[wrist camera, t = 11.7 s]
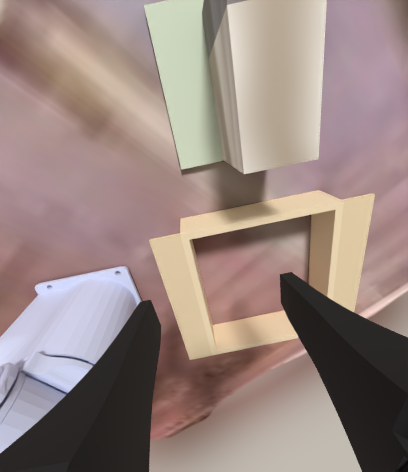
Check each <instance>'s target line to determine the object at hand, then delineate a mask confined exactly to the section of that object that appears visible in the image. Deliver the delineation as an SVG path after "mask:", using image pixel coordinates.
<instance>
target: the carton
mask: <svg viewBox="0 0 408 472" xmlns="http://www.w3.org/2000/svg"><path fill="white" fill-rule="evenodd" d="M374 198H375V194H367V195H362V196H357V197H352V198H347V199H343V200H341V199H338V198H336V197H334V196H331V195H329V194H327V193H324V192H322V191H320V190H317V191H312V192H307V193H302V194H298V195H293V196H288V197H283V198H278V199H273V200H269V201H264V202H259V203H254V204H249V205H245V206H240V207H235V208H230V209H225V210H220V211H216V212H211V213H206V214H201V215H196V216H192V217H187V218H182V219H181V224H180V233H179V234H174V235H169V236H164V237H159V238H154V239H150V240H149V242H150V245H151V248H152V251H153V253H154V256H155V259H156V262H157V265H158V268H159V271H160V274H161V277H162V280H163V283H164V286H165V288H166V291H167V294H168V297H169V300H170V303H171V306H172V309H173V312H174V315H175V318H176V320H177V323H178V326H179V329H180V332H181V335H182V338H183V341H184V344H185V347H186V350H187V352H188V355H189V358H190V360H192V359H197V358H202V357H207V356H212V355H217V354H222V353H227V352H232V351H236V350H241V349H246V348H251V347H256V346H261V345H266V344H271V343H276V342H281V341H286V340H290V339H295V338H299V337H298V335H297V333H296V332H295V330H294V328H293V327H292V325H291V323H290V321H289V320H288V317H287V315H286V313H285V311H279V312H274V313H269V314H264V315H259V316H255V317H250V318H245V319H240V320H235V321H230V322H225V323H220V324H215V325H213V324H212V320H211V316H210V312H209V307H208V303H207V299H206V295H205V291H204V287H203V282H202V278H201V274H200V270H199V266H198V261H197V257H196V253H195V249H194V245H193V241H192V239H195V238H200V237H205V236H210V235H215V234H220V233H224V232H229V231H234V230H239V229H244V228H249V227H253V226H258V225H263V224H268V223H273V222H278V221H282V220H287V219H292V218H297V217H302V216H307V215H311V237H310V260H309V283H308V284H309V285H310V286H312V287H313V288H315V289H316V290H317V291H319V292H321V293H322V294H324V295H325V296H327V297H328V298H330V299H331V300H333V301H335V302H336V303H338V304H340V305H341V306H343V307H345V308H347V309H348V310H350V311H352V312H354V310H355V304H356V299H357V293H358V287H359V282H360V276H361V271H362V265H363V259H364V254H365V248H366V243H367V237H368V231H369V226H370V220H371V215H372V209H373V203H374Z"/></svg>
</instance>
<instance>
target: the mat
mask: <svg viewBox="0 0 408 472" xmlns="http://www.w3.org/2000/svg"><path fill="white" fill-rule="evenodd" d="M203 2H204V0H167V1H162V2H158V3H153V4H148V5H144V8H145V13H146V17H147V21H148V26H149V30H150V35H151V39H152V43H153V48H154V52H155V56H156V61H157V65H158V70H159V74H160V78H161V83H162V87H163V92H164V96H165V100H166V105H167V109H168V114H169V118H170V122H171V127H172V131H173V136H174V140H175V144H176V149H177V153H178V157H179V162H180V166H181V170H182V169H187V168H191V167H196V166H201V165H206V164H211V163H215V162H220V161H224V160H223V159H222V152H221V145H220V138H219V131H218V124H217V117H216V110H215V102H214V95H213V88H212V81H211V74H210V67H209V60H208V53H207V45H206V38H205V31H204V24H203V17H202V9H203Z"/></svg>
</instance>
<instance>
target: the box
mask: <svg viewBox="0 0 408 472" xmlns="http://www.w3.org/2000/svg"><path fill="white" fill-rule="evenodd" d="M326 2H327V0H204V2H203V9H202V17H203V24H204V31H205V38H206V45H207V53H208V60H209V67H210V74H211V81H212V88H213V95H214V102H215V110H216V117H217V124H218V131H219V138H220V145H221V152H222V159H223V160H224V161H226V162H227V163H228V164H230V165H231V166H233V167H234V168H236V169H237V170H238V171H240V172H241V173H243V174H248V173H253V172H258V171H263V170H267V169H272V168H277V167H282V166H287V165H291V164H296V163H301V162H306V161H311V160H315V159H318V156H319V137H320V118H321V99H322V79H323V60H324V41H325V21H326Z"/></svg>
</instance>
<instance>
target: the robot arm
mask: <svg viewBox="0 0 408 472" xmlns="http://www.w3.org/2000/svg"><path fill="white" fill-rule="evenodd" d="M116 271H119V272H120V273H117V272H116ZM49 285H50V286H49ZM51 286H52V287H51ZM280 288H281V304H282V306H283V308H284V311H285V313H286V315H287V317H288V320H289V321H290V323H291V325H292V327H293V328H294V330H295V332H296V333H297V335H298V337H299V339H300V340H301V342H302V344H303V345H304V347H305V349H306V350H307V352H308V354H309V356H310V357H311V359H312V361H313V363H314V364H315V366H316V368H317V370H318V372H319V374H320V377H321V379H322V381H323V383H324V384H325V387H326V389H327V391H328V393H329V396H330V398H331V400H332V402H333V405H334V407H335V408H336V411H337V413H338V416H339V418H340V420H341V422H342V425H343V427H344V429H345V432H346V434H347V436H348V439H349V441H350V443H351V446H352V448H353V450H354V453H355V455H356V457H357V460H358V463H359V465H360V467H361V470H362V472H408V338H407V337H405V336H403V335H400V334H398V333H396V332H394V331H391V330H389V329H387V328H384V327H382V326H380V325H378V324H376V323H374V322H371V321H369V320H368V319H366V318H364V317H362V316H360V315H358V314H356V313H354V312H352V311H350V310H348V309H347V308H345V307H343V306H341V305H340V304H338V303H336V302H335V301H333V300H331V299H330V298H328V297H327V296H325V295H324V294H322V293H321V292H319V291H317V290H316V289H315V288H313V287H312V286H310V285H309V284H307V283H306V282H304V281H303V280H302V279H300V278H299V277H297V276H296V275H295V274H293V273H292V272H290V273H285V274H280ZM35 290H36V292H37V293H38V296H37V297H36V298H35V299H34V300H33V301H32V303H31V304H30V305H29V306H28V307H27V308H26V309H25V310H24V311H23V313H22V314H21V315H20V316H19V317H18V318H17V319H16V320H15V322H14V323H13V324H12V325H11V326H10V327H9V328H8V329H7V330H6V332H5V333H4V334H3V335H2V336H1V337H0V472H149V452H150V430H151V412H152V398H153V390H154V383H155V376H156V370H157V364H158V357H159V350H160V341H161V324H160V322H159V319H158V317H157V314H156V312H155V309H154V307H153V304H152V302H151V300H147V301H142V300H141V298H140V296H139V293H138V291H137V289H136V286H135V284H134V281H133V279H132V277H131V274H130V272H129V270H128V268H127V267H125V266H121V267H116V268H111V269H106V270H101V271H97V272H92V273H87V274H82V275H77V276H72V277H68V278H63V279H58V280H53V281H48V282H43V283H39V284H37V285H36V286H35Z"/></svg>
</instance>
